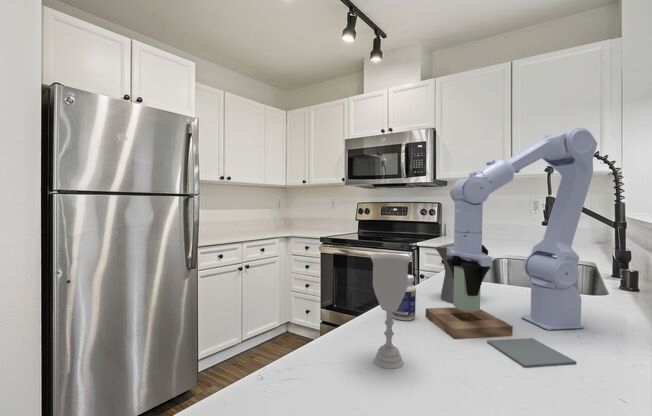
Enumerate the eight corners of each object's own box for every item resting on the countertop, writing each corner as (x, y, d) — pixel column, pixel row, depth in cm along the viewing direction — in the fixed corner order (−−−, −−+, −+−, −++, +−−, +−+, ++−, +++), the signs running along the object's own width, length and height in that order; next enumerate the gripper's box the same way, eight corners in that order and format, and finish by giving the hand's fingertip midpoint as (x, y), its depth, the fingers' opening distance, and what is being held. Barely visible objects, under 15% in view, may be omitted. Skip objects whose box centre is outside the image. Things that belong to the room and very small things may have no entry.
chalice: (400, 376, 53) (402, 262, 53) (361, 364, 57) (363, 258, 56) (414, 358, 59) (416, 256, 59) (378, 348, 63) (380, 252, 62)
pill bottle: (416, 322, 77) (416, 279, 77) (390, 320, 78) (391, 277, 78) (414, 314, 83) (415, 273, 82) (390, 312, 84) (391, 272, 84)
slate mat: (532, 340, 68) (532, 338, 68) (576, 363, 58) (576, 361, 58) (486, 342, 66) (487, 340, 66) (524, 367, 56) (524, 365, 56)
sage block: (469, 304, 78) (470, 266, 77) (480, 310, 74) (480, 269, 73) (453, 305, 77) (454, 266, 77) (463, 311, 73) (463, 269, 73)
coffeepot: (440, 304, 90) (442, 238, 90) (428, 294, 100) (429, 234, 99) (496, 304, 91) (497, 238, 91) (478, 294, 101) (479, 234, 100)
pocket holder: (475, 314, 83) (475, 306, 83) (512, 335, 70) (512, 326, 70) (425, 316, 81) (425, 308, 81) (454, 338, 68) (454, 328, 68)
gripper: (435, 229, 81) (434, 284, 82) (470, 235, 67) (468, 303, 67) (462, 229, 83) (461, 284, 83) (502, 235, 68) (500, 301, 68)
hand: (466, 292), depth 75 cm, fingers closed on sage block, 4 cm apart
